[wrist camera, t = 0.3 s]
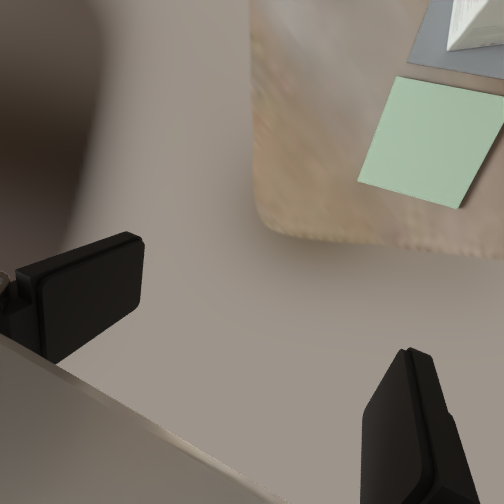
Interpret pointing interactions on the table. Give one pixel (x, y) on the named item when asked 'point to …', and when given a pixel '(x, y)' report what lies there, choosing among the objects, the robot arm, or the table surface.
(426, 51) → the slate tile
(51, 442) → the robot arm
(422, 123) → the sage board
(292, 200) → the table surface
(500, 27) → the small box
